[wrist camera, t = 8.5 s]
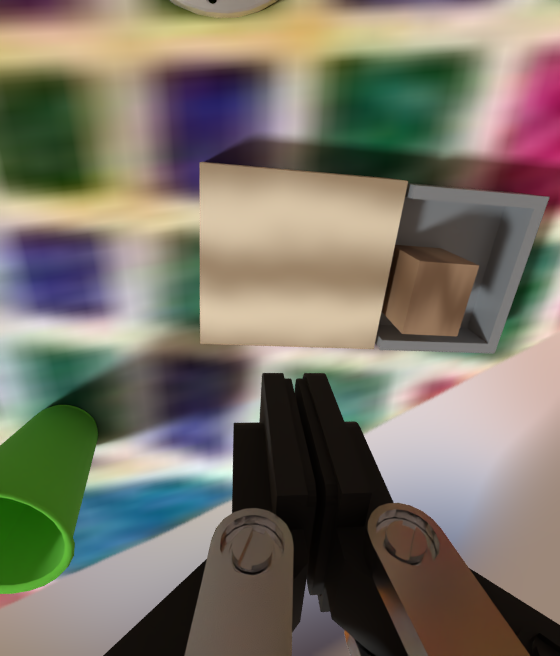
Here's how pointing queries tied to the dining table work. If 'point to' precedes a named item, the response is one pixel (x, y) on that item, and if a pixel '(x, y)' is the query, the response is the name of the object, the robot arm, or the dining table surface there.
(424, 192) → the bin
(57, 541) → the cup
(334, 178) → the board
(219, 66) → the dining table surface
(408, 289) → the block
